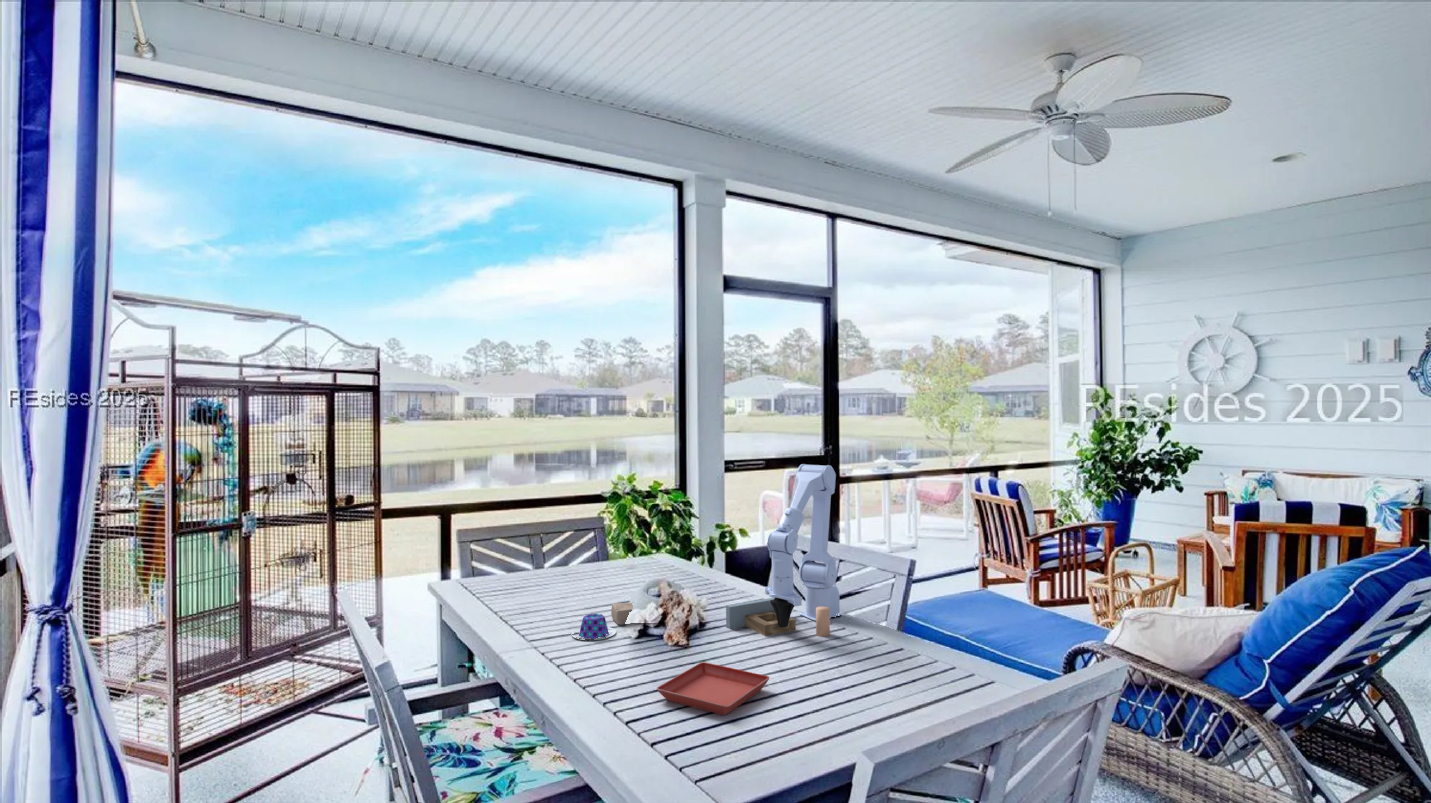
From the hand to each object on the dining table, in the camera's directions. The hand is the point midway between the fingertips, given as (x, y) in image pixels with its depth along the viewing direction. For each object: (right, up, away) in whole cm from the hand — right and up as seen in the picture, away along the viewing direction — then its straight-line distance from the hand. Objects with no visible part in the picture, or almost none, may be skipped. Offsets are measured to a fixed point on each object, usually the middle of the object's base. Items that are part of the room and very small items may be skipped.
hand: (783, 626), depth 199 cm
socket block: (-3, -2, +5) cm, 7 cm away
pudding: (-51, -3, +2) cm, 51 cm away
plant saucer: (-19, -3, -41) cm, 45 cm away
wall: (-6, -2, +11) cm, 13 cm away
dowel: (+11, -2, -1) cm, 11 cm away
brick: (-40, -3, +16) cm, 43 cm away
